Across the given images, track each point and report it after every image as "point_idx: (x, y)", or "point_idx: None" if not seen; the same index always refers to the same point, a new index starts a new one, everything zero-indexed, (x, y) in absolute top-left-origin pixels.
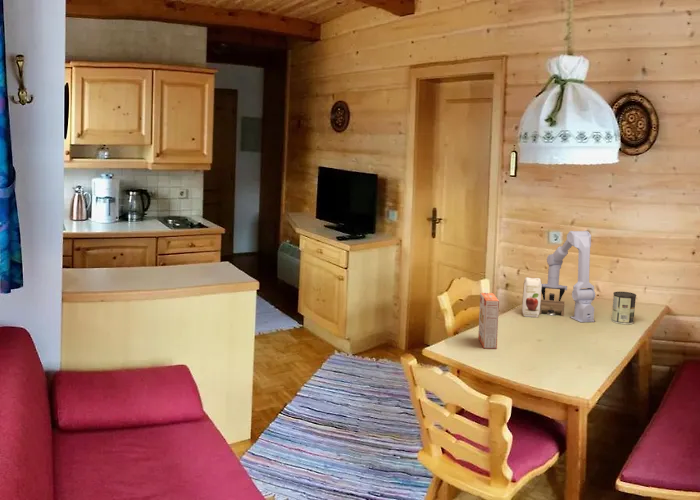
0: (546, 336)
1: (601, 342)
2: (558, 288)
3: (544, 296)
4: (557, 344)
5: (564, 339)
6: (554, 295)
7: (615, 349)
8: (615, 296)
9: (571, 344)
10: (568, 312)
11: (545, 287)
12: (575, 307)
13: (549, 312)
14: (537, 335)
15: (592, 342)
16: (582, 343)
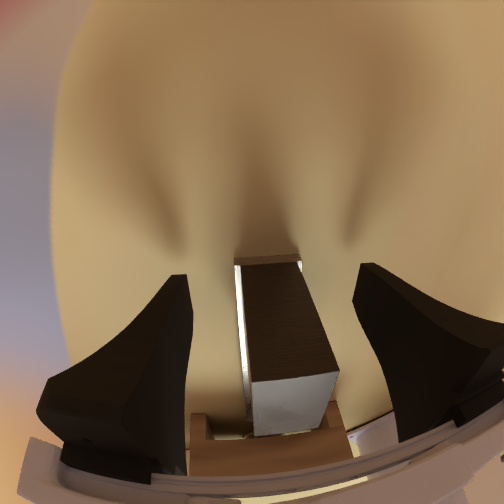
0: (252, 497)
1: (350, 481)
2: (420, 453)
3: (181, 380)
4: (271, 501)
5: (285, 495)
6: (317, 424)
7: (359, 482)
8: (501, 455)
9: (294, 497)
10: (370, 380)
11: (167, 492)
12: (367, 477)
13: (255, 437)
14: (234, 498)
15: (334, 486)
16: (314, 492)
